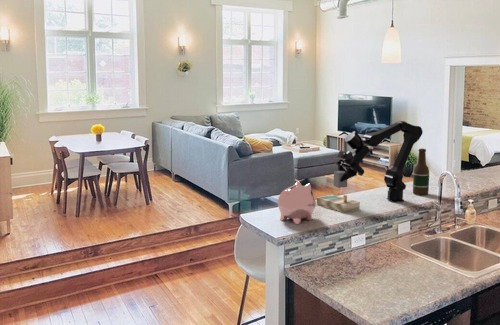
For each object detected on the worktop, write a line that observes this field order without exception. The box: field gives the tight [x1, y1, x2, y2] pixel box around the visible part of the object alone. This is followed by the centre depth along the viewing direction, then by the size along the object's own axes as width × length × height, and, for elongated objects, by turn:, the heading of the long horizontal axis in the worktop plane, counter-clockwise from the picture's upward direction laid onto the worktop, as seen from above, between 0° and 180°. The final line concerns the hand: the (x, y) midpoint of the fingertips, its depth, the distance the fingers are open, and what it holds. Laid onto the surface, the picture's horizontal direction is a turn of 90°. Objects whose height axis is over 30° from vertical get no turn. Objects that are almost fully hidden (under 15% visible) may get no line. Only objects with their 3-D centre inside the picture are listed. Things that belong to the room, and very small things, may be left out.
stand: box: [316, 194, 361, 214], centre depth 229 cm, size 19×10×4 cm, turn 33°
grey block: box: [333, 170, 348, 189], centre depth 226 cm, size 5×5×7 cm
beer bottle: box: [412, 148, 430, 197], centre depth 248 cm, size 8×8×24 cm
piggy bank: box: [277, 181, 317, 225], centre depth 210 cm, size 15×18×16 cm
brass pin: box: [343, 194, 348, 202], centre depth 224 cm, size 2×2×3 cm
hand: (337, 180), depth 225 cm, fingers closed on grey block, 5 cm apart
